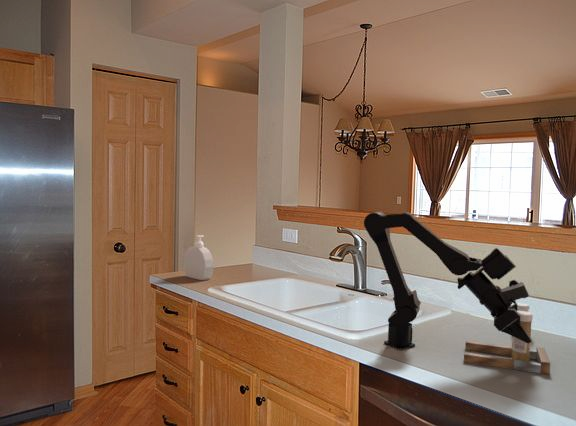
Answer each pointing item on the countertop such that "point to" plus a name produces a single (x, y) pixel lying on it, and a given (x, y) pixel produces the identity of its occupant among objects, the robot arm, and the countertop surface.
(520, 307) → the supplement bottle
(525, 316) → the sprinkles bottle
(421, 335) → the countertop surface
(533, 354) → the walnut slot
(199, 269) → the soap bottle
